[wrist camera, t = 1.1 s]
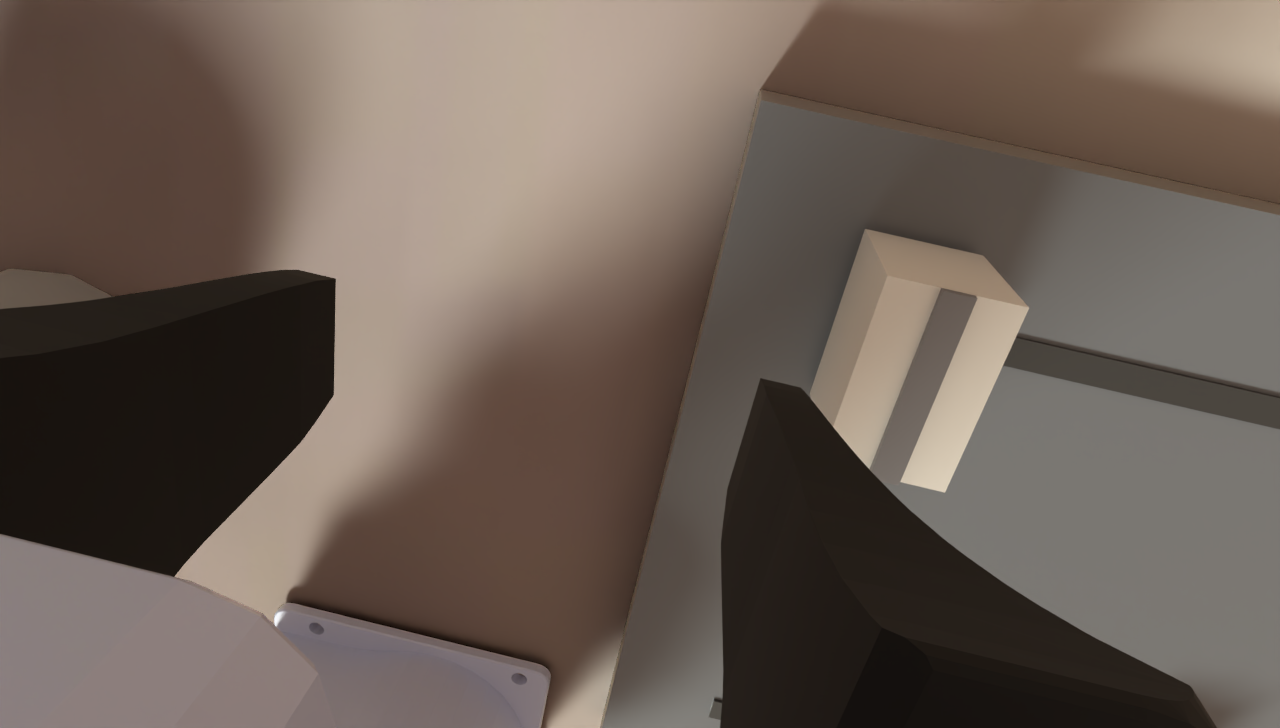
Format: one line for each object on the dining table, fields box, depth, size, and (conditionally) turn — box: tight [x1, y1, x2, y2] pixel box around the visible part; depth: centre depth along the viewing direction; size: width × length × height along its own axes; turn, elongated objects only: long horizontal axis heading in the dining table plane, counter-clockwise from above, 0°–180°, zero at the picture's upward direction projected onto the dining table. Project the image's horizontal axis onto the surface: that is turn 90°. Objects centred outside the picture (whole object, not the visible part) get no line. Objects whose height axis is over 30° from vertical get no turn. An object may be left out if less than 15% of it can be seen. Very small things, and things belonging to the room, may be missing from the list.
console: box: [600, 89, 1280, 728], centre depth 21 cm, size 18×21×2 cm
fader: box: [810, 229, 1029, 493], centre depth 16 cm, size 2×4×3 cm, turn 169°
